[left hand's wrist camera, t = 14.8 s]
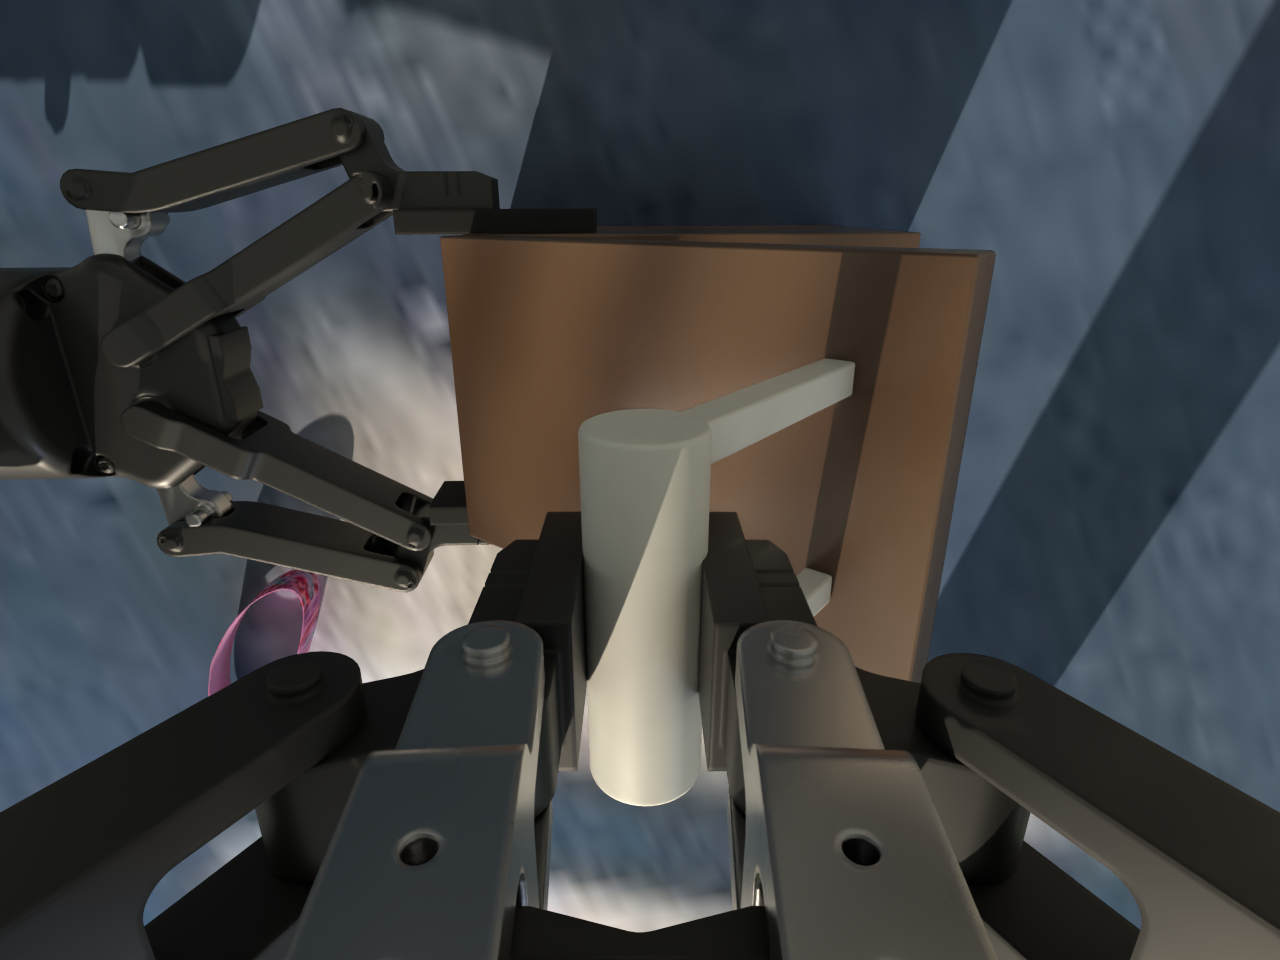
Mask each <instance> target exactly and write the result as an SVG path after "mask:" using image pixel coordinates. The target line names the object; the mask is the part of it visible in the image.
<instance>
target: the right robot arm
mask: <svg viewBox="0 0 1280 960" xmlns="http://www.w3.org/2000/svg"><path fill="white" fill-rule="evenodd" d="M340 165H343V166H344V168H345V170H346V172H347V174H348V176H349V178H350V180H348V181H347V182H345V183H344V184H342V185H341V186H339V187H338V188H336V189H335V190H333V191H332V192H330V193H328V194H327V195H325V196H324V197H322V198H321V199H319V200H318V201H316V202H315V203H313V204H312V205H310V206H309V207H307V208H306V209H304V210H303V211H301V212H300V213H298V214H297V215H295V216H293V217H292V218H290V219H289V220H287V221H286V222H284V223H283V224H281V225H280V226H278V227H277V228H275V229H274V230H272V231H271V232H269V233H268V234H266V235H265V236H263V237H261V238H260V239H258V240H257V241H255V242H254V243H252V244H251V245H249V246H248V247H246V248H245V249H243V250H242V251H240V252H239V253H237V254H236V255H234V256H233V257H231V258H229V259H228V260H226V261H225V262H223V263H222V264H220V265H219V266H217V267H216V268H214V269H213V270H211V271H209V272H207V273H205V274H203V275H200V276H198V277H196V278H194V279H192V280H190V281H188V282H187V283H186V282H184V281H183V280H181V279H179V278H178V277H176V276H175V275H173V274H171V273H170V272H168V271H167V270H165V269H164V268H162V267H160V266H159V265H157V264H156V263H154V262H152V261H151V260H149V259H147V258H146V257H144V256H141V246H142V243H143V242H144V241H145V240H146V239H147V238H149V237H153V236H158V235H160V234H162V233H163V232H164V230H165V229H166V226H167V225H168V224H169V222H170V218H169V215H168V213H167V212H187V211H194V210H198V209H202V208H206V207H209V206H213V205H216V204H219V203H222V202H225V201H229V200H232V199H235V198H238V197H241V196H244V195H248V194H251V193H254V192H257V191H260V190H264V189H267V188H270V187H273V186H276V185H280V184H283V183H286V182H289V181H292V180H296V179H299V178H302V177H305V176H308V175H312V174H315V173H318V172H321V171H324V170H327V169H331V168H334V167H337V166H340ZM60 188H61V191H62V194H63V196H64V197H65V198H66V200H67V201H68V202H69V203H70V204H72V205H73V206H75V207H76V208H80V209H84V210H86V214H87V219H88V224H89V229H90V235H91V240H92V245H93V251H94V255H93V256H90V257H88V258H87V259H85V260H84V261H82V262H81V263H80V264H78V265H76V266H74V267H71V268H0V479H69V478H99V477H113V476H115V477H124V478H128V479H132V480H134V481H137V482H139V483H141V484H144V485H146V486H149V487H152V488H156V489H157V492H158V495H159V498H160V500H161V503H162V506H163V509H164V512H165V514H166V517H167V520H168V523H169V526H168V527H167V528H165V529H164V530H162V531H161V532H160V533H159V534H158V537H157V544H158V546H159V548H160V549H161V550H162V551H163V552H164V553H165V554H167V555H169V556H172V557H185V556H197V555H208V554H219V553H223V554H227V555H232V556H237V557H241V558H246V559H251V560H255V561H260V562H264V563H269V564H274V565H278V566H283V567H288V568H292V569H297V570H302V571H306V572H311V573H316V574H320V575H325V576H330V577H334V578H339V579H344V580H348V581H353V582H358V583H362V584H367V585H372V586H376V587H381V588H386V589H390V590H395V591H400V592H409V591H413V590H414V589H415V588H416V587H417V586H418V584H419V582H420V580H421V578H422V576H423V575H424V573H425V571H426V569H427V567H428V565H429V563H430V561H431V559H432V557H433V555H434V549H435V548H436V547H439V546H444V545H478V544H481V545H489V544H490V543H488V542H485V541H483V540H480V539H478V538H476V537H473V536H471V535H470V534H469V524H468V514H467V504H466V494H465V484H464V481H444V483H443V484H442V486H441V488H440V489H439V491H438V492H437V494H436V496H435V497H434V499H433V498H431V497H428V496H426V495H424V494H422V493H420V492H418V491H416V490H414V489H411V488H409V487H407V486H405V485H403V484H401V483H399V482H396V481H394V480H392V479H390V478H388V477H386V476H384V475H382V474H379V473H377V472H375V471H373V470H371V469H369V468H367V467H364V466H362V465H360V464H358V463H356V462H354V461H352V460H350V459H347V458H345V457H343V456H341V455H339V454H337V453H335V452H332V451H330V450H328V449H326V448H324V447H322V446H320V445H318V444H315V443H313V442H311V441H309V440H307V439H305V438H303V437H300V436H298V435H296V434H294V433H293V432H292V431H291V430H290V427H289V426H288V425H287V424H285V423H284V422H282V421H280V420H277V419H275V418H273V417H271V416H269V415H267V414H265V413H263V412H260V411H258V410H260V409H261V408H263V403H262V398H261V393H260V388H259V386H258V384H257V382H256V380H255V378H254V376H253V374H252V371H251V369H250V358H251V343H250V338H249V333H248V328H247V327H240V325H239V323H238V321H237V320H236V317H238V316H239V315H241V314H242V313H244V312H245V311H247V310H249V309H250V308H252V307H253V306H255V305H256V304H258V303H259V302H261V301H262V300H264V299H265V297H266V296H267V295H268V294H270V293H271V292H273V291H275V290H276V289H278V288H279V287H281V286H282V285H284V284H285V283H287V282H289V281H290V280H292V279H293V278H295V277H296V276H298V275H300V274H301V273H303V272H304V271H306V270H307V269H309V268H310V267H312V266H314V265H315V264H317V263H318V262H320V261H321V260H323V259H325V258H326V257H328V256H329V255H331V254H332V253H334V252H335V251H337V250H339V249H340V248H342V247H343V246H345V245H346V244H348V243H350V242H351V241H353V240H354V239H356V238H357V237H359V236H360V235H362V234H364V233H365V232H367V231H368V230H370V229H371V228H373V227H375V226H376V225H378V224H379V223H381V222H382V221H384V220H385V219H387V218H389V217H390V216H392V215H393V218H394V227H395V234H469V233H595V232H596V231H597V211H596V209H500V206H499V192H498V179H495V178H493V177H490V176H488V175H486V174H483V173H480V172H476V171H458V172H457V171H446V172H443V171H433V172H406V171H403V170H402V169H401V168H399V167H398V166H397V165H396V164H395V163H394V161H393V160H392V158H391V156H390V154H389V152H388V150H387V147H386V145H385V143H384V134H383V130H382V129H381V127H380V125H379V124H378V123H377V122H376V121H374V120H373V119H370V118H367V117H366V116H363V115H360V114H357V113H355V112H352V111H348V110H345V109H342V108H336V109H331V110H328V111H325V112H321V113H318V114H315V115H312V116H309V117H306V118H303V119H300V120H296V121H293V122H290V123H287V124H284V125H281V126H278V127H274V128H271V129H268V130H265V131H262V132H259V133H256V134H253V135H249V136H246V137H243V138H240V139H237V140H234V141H231V142H228V143H224V144H221V145H218V146H215V147H212V148H209V149H206V150H203V151H199V152H196V153H193V154H190V155H187V156H184V157H181V158H177V159H174V160H171V161H168V162H165V163H162V164H159V165H156V166H152V167H149V168H146V169H143V170H140V171H137V172H134V173H128V172H114V171H100V170H85V169H71V170H68V171H66V172H65V173H64V174H63V175H62V177H61V179H60ZM205 466H207V467H209V468H212V469H214V470H216V471H218V472H221V473H223V474H225V475H227V476H230V477H232V478H235V479H241V480H244V479H252V480H256V481H258V482H261V483H263V484H265V485H267V486H269V487H272V488H274V489H276V490H278V491H281V492H283V493H285V494H287V495H289V496H292V497H294V498H296V499H298V500H301V501H303V502H305V503H307V504H309V505H312V506H314V507H316V508H318V509H321V510H323V511H325V512H327V513H329V514H332V515H334V516H336V517H338V518H341V519H343V520H345V521H347V522H345V521H340V520H336V519H331V518H327V517H323V516H318V515H314V514H309V513H305V512H300V511H296V510H291V509H287V508H282V507H278V506H274V505H269V504H264V503H258V502H250V501H233V497H232V495H231V494H230V493H229V492H226V491H221V492H219V491H213V490H208V489H206V488H204V487H202V486H201V485H200V484H199V483H198V482H197V481H196V479H195V476H194V475H195V474H196V473H198V472H199V471H200V470H201V469H203V468H204V467H205ZM491 545H493V544H491Z"/></svg>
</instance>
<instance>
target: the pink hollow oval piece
mask: <svg viewBox="0 0 1280 960" xmlns="http://www.w3.org/2000/svg"><path fill="white" fill-rule="evenodd" d="M280 590H288V591H292V592H294V593H295V594H296V595H297V596H298V597H299V599H300V601H301V604H302V608H303V626H302V633H301V639H300V644H299V648H298V653H297V654H301V653H308V652H309V648H310V645H311V641H312V638H313V634H314V630H315V626H316V622H317V617H318V612H319V606H320V593H321V592H320V583H319V580H318V577H317V575H316V574H315V573H311V572H306V571H302V570H297V569H294V570H291V571H289V572H286V573H284V574H282V575H281V576H279V577H277V578H276V579H274V580H273V581H272V582H271V583H269V584H268V585H267V586H266V587H265V588H264V589H263V590H262V591H261V592H260V593H259V594H258V595H257V596H256V597H255V598H254V599H253V600H252V602H251V603H250V604H249V605H248V606H247V607H246V608H245V609H244V610H243V611H242V612H241V613H240V615H239V616H238V617H237V618H236V619H235V620H234V622H233V623H232V624H231V626H230V627H229V628H228V630H227V632H226V633H225V635H224V637H223V638H222V640H221V642H220V644H219V646H218V649H217V651H216V654H215V656H214V658H213V660H212V663H211V667H210V677H209V688H208V697H209V696H210V695H212V694H214V693H216V692H218V691H219V690H221V689H223V688H225V687H227V686H228V685H230V684H231V681H230V656H231V649H232V645H233V641H234V637H235V634H236V632H237V629H238V627H239V624H240V622H241V620H242V618H243V616H244V615H245V613H246V611H247V610H248V608H249V607H250V605H251V604H253V603H254V602H255V601H257V600H258V599H260V598H261V597H263V596H265V595H267V594H269V593H272V592H275V591H280Z"/></svg>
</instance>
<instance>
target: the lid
mask: <svg viewBox="0 0 1280 960" xmlns="http://www.w3.org/2000/svg"><path fill="white" fill-rule="evenodd" d="M440 240H441V251H442V261H443V271H444V281H445V291H446V301H447V311H448V321H449V332H450V342H451V352H452V362H453V372H454V382H455V392H456V403H457V413H458V423H459V433H460V443H461V453H462V463H463V474H464V484H465V494H466V504H467V514H468V524H469V534H470V535H471V536H473V537H476V538H478V539H480V540H483V541H485V542H488V543H490V544H493V545H495V546H498V547H500V548H503V549H504V548H505V547H507V546H508V545H509V544H511V543H512V542H513V541H514V540H516V539H539V537H540V534H541V531H542V527H543V524H544V521H545V517H546V514H547V512H581V524H582V551H583V571H584V600H585V630H586V659H587V691H588V719H589V747H590V768H591V773H592V775H593V778H594V779H595V781H596V783H597V784H598V786H599V787H600V788H601V789H602V790H603V791H604V792H605V793H606V794H608V795H609V796H610V797H612V798H614V799H616V800H618V801H621V802H623V803H627V804H631V805H637V806H654V805H660V804H664V803H668V802H670V801H673V800H675V799H677V798H679V797H680V796H682V795H683V794H685V793H686V792H687V791H688V790H689V789H690V788H691V787H692V785H693V784H694V783H695V781H696V779H697V777H698V775H699V772H700V764H701V736H702V719H701V711H700V703H699V694H698V686H699V658H700V629H701V600H702V572H703V560H704V559H705V557H706V555H707V553H708V534H709V512H737V515H738V518H739V521H740V524H741V527H742V530H743V534H744V537H745V540H769V541H771V542H772V543H773V544H775V545H776V546H777V547H779V548H780V549H781V550H782V551H784V552H785V553H786V554H787V556H788V558H789V560H790V563H791V565H792V568H793V570H794V573H795V575H796V577H797V579H798V582H799V587H801V589H802V591H803V593H804V596H805V598H806V600H807V603H808V605H809V607H810V610H811V612H812V614H813V617H814V619H815V622H816V624H817V626H818V627H820V628H823V629H825V630H827V631H829V632H831V633H832V634H834V635H835V636H837V637H838V638H839V639H840V640H841V641H843V643H844V644H845V645H846V646H847V648H848V650H849V652H850V654H851V657H852V660H853V663H854V665H855V667H858V668H860V669H862V670H865V671H868V672H871V673H874V674H878V675H882V676H887V677H892V678H897V679H902V680H907V681H912V682H917V683H921V678H922V672H923V669H924V667H925V665H926V664H927V660H928V654H929V648H930V642H931V636H932V630H933V624H934V618H935V613H936V607H937V601H938V595H939V589H940V583H941V577H942V571H943V565H944V559H945V553H946V547H947V541H948V535H949V530H950V524H951V518H952V512H953V506H954V500H955V494H956V488H957V482H958V476H959V470H960V464H961V458H962V452H963V447H964V441H965V435H966V429H967V423H968V417H969V411H970V405H971V399H972V393H973V387H974V381H975V375H976V369H977V364H978V358H979V352H980V346H981V340H982V334H983V328H984V322H985V316H986V310H987V304H988V298H989V292H990V286H991V281H992V275H993V269H994V263H995V257H996V254H995V251H992V250H966V249H933V248H899V247H865V246H831V245H797V244H763V243H730V242H696V241H662V240H628V239H594V238H560V237H527V236H493V235H457V236H442V237H441V238H440Z"/></svg>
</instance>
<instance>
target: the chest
mask: <svg viewBox="0 0 1280 960" xmlns="http://www.w3.org/2000/svg"><path fill="white" fill-rule="evenodd" d="M463 235H493V236H527V237H560V238H594V239H628V240H662V241H696V242H730V243H763V244H797V245H831V246H865V247H899V248H919V242H920V235H921V234H920V233H919V232H907V231H894V230H882V229H870V228H857V227H845V226H837V225H798V226H597V231H596V232H595V233H469V234H463Z"/></svg>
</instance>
